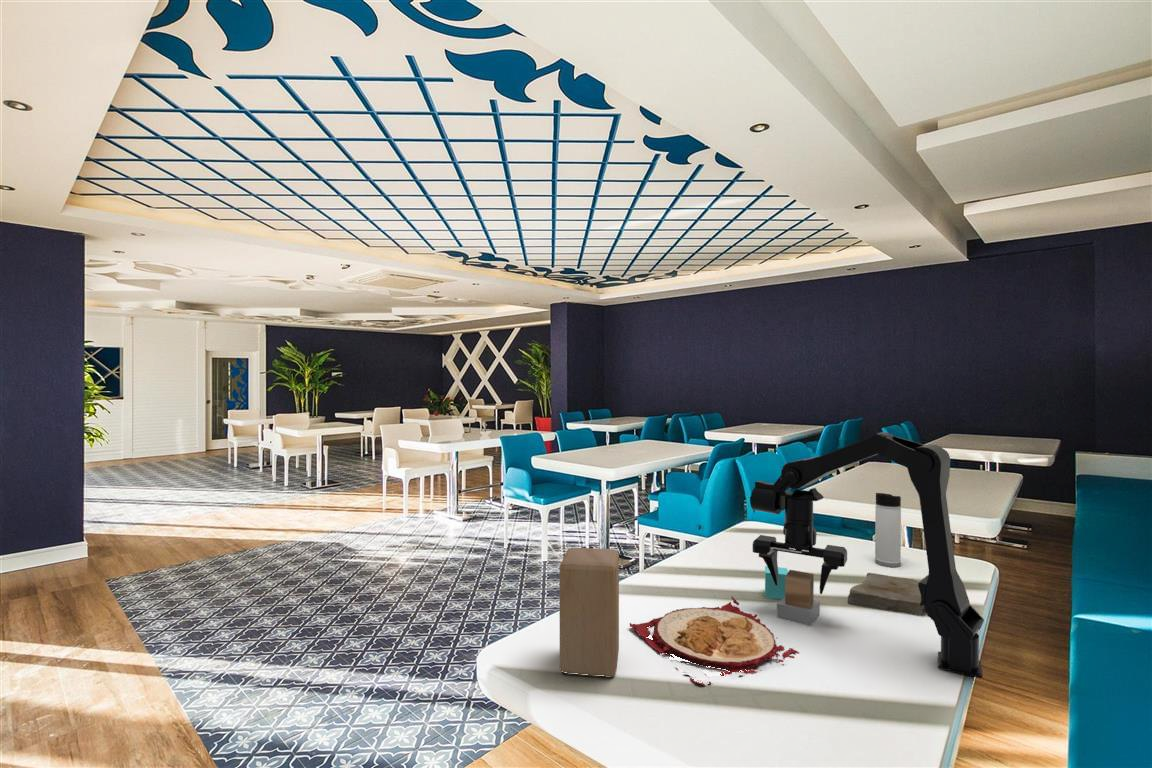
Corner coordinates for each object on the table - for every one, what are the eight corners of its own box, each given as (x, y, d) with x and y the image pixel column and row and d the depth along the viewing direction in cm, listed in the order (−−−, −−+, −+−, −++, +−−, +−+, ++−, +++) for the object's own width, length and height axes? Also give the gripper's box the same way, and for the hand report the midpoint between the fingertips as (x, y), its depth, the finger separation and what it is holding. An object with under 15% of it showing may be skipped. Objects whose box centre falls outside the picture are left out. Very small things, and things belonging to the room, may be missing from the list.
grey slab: (810, 628, 119) (810, 611, 119) (776, 619, 123) (776, 603, 123) (819, 617, 124) (819, 601, 124) (787, 608, 129) (787, 593, 129)
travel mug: (869, 562, 160) (869, 491, 160) (885, 558, 163) (885, 489, 162) (889, 569, 154) (890, 495, 154) (905, 565, 157) (906, 493, 157)
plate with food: (628, 632, 118) (627, 615, 118) (730, 608, 128) (730, 593, 128) (698, 695, 95) (698, 674, 95) (816, 659, 106) (816, 641, 106)
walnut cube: (809, 609, 120) (809, 581, 120) (785, 604, 123) (785, 576, 123) (813, 600, 124) (813, 573, 124) (789, 596, 127) (789, 569, 127)
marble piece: (847, 605, 130) (847, 587, 130) (851, 585, 143) (851, 568, 143) (932, 620, 122) (932, 601, 122) (928, 597, 135) (928, 580, 135)
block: (558, 676, 99) (558, 562, 99) (567, 648, 109) (567, 545, 109) (615, 680, 98) (615, 565, 97) (619, 652, 108) (619, 547, 107)
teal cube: (787, 600, 133) (787, 574, 133) (765, 597, 134) (765, 572, 134) (786, 592, 138) (786, 568, 137) (765, 590, 139) (765, 566, 139)
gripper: (850, 515, 125) (850, 586, 125) (764, 505, 135) (764, 570, 135) (843, 527, 116) (843, 602, 116) (751, 515, 126) (751, 585, 126)
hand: (798, 589), depth 124 cm, fingers open, 9 cm apart
